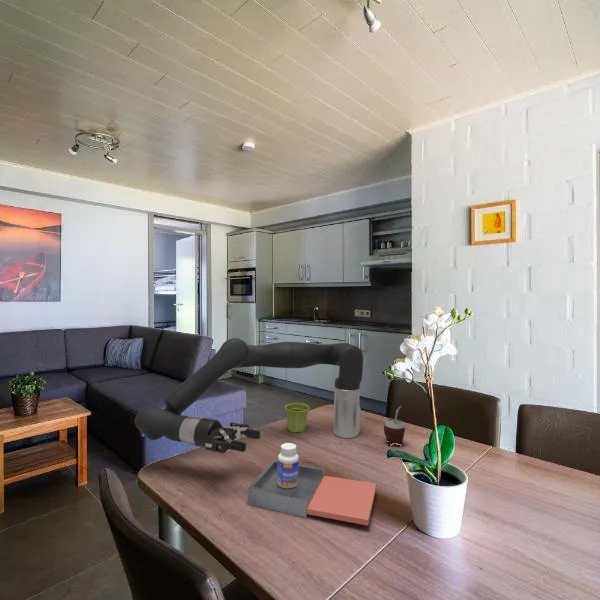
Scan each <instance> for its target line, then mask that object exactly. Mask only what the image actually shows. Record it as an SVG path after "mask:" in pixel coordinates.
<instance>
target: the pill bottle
mask: <svg viewBox="0 0 600 600" xmlns="http://www.w3.org/2000/svg"><path fill="white" fill-rule="evenodd" d="M277 460H278V466H277V484H278V485H279V486H280V487H282V488H293V487H295V486H296V485H297V484H298V464H300V463H299V461H300V457H299V454H298V453H297V445H296V444H295V443H292V442H285V443H283V444H281V445H280V453H278V456H277Z"/></svg>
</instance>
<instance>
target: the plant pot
mask: <svg viewBox="0 0 600 600" xmlns="http://www.w3.org/2000/svg"><path fill="white" fill-rule="evenodd" d="M284 409H285V412H286V419H287V428H288V431H289V432H291V433H294V434H296V433H303V432H305V428H306V423H307V417H308V413H309V410H310V409H311V408H310V406H309V405H308V404H306V403H299V402H298V403H297V402H295V403H288V404H286V405H285V406H284Z"/></svg>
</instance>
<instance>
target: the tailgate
mask: <svg viewBox="0 0 600 600" xmlns="http://www.w3.org/2000/svg"><path fill="white" fill-rule="evenodd" d="M376 491H377V483H376V482H375V483H374V482H370V481H361V480H355V479H348V478H342V477H336V476H329V475H324V477H323V478H322V480H321V482H320V484H319V486H318V488H317V490H316V492H315V494H314V496H313V498H312V499H311V501H310V503H309V505H308V507H307V514H308V515H310V516H316V517H322V518H324V519H325V518H327V519H332V520H337V521H342V522H347V523H353V524H358V525H361V526H369V524H370V520H371V519H370V518H371V514H372V510H373V505H374V501H375V495H376V493H377V492H376Z"/></svg>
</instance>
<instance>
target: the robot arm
mask: <svg viewBox="0 0 600 600" xmlns="http://www.w3.org/2000/svg"><path fill="white" fill-rule="evenodd" d="M316 365H331V366H336V367H339V369H338V376H337V377H336V378H335V380H334V392H333V393H334V395H333V396H334V399H333V404H334V405H333V434H334V435H335V436H337V437H338V438H344V439H352V438H353V439H354V438H356V437H358V435H359V434H360V433H361V413H362V412H361V411H362V409H361V407H360V394H361V393H360V387H361V383H362V381H363V380H362V379H363V373H364V371H363V369H364V355H363V352H362V350H361V349H360V347H359V346H357V345H355V344H351V343H348V342H338V343H329V344H327V343H325V344H320V343H319V344H317V343H312V342H299V341H280V342H272V343H268V344H261V345H258V344H257V345H255V344H247V343H246V341H244V340H243V339H240V338H237V337H232V338H229V339H227V340H225V341H224V342H223V343H222V344H221V346H220V348H219V349H218V350H217V352H216V353H215V354H214V355H212V357H211V358H210V359H209V360H208V361H207V362H206V363H205V364H204V365H203V366H201V367H200V368H199V369H198V370H197V371H195V372H194V373H192V375H190V376H189V377H188V378H186V379H185V380H184V381H183V382H181V383H180V384H179V385H178V386H177V387H175V388H174V389H173V390H172V391H170V393H168V394H167V395H166V396H165V397H164V399H163V400H164V404H165V407H164V408H160V407H158V406H146V407H144V408H142V409H141V410H139V411H138V412H137V413H136V416H135V418H134V425H135V427H136V428H137V429H138V430H139V431H140V432H141V433H142V434H143V435H144V436H145V437H146V438H147V439H148V440H152V441H157V440H159V439H161V438H163V437H165V438H166V439H168V440H170V441H173V442H180V443H183V444H187V445H189V446H194V447H195V446H196V447H199V448H205V450H206V451H211V452H216V453H220V454H226V452H227V451H228V452H230V451H237V452H243V453H244V452H246V450H247V442H245V441H239V440H240V439H242V438H249V439H254V440H259V439H261V431H260V430H257V429H251V428H250V424H248V423H247V424H246V423H238V422H229V425H225V426H223V425H222V424H221V422H220V421H219V420H218V419H214V418H213V419H212V418H207V417H201V416H188V415H183V412H185V411H186V410H187V409H188V408H189V407H190V406H192V405H193V404H195V402H196V401H197V400H198V399H199V398H201V396H202V395H203V394H204V393H205V392H206V391H207V390H208V389H210V387H211V386H212V385H213V384H214V383H216V381H218V380H219V379H220V378H222V376H223V375H225V374H227V373H228V372H229V371H231V370H232V369H241V368H250V367H251V368H252V367H265V368H277V369H279V368H280V369H305V368H309V367H313V366H316ZM359 432H360V433H359Z"/></svg>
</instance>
